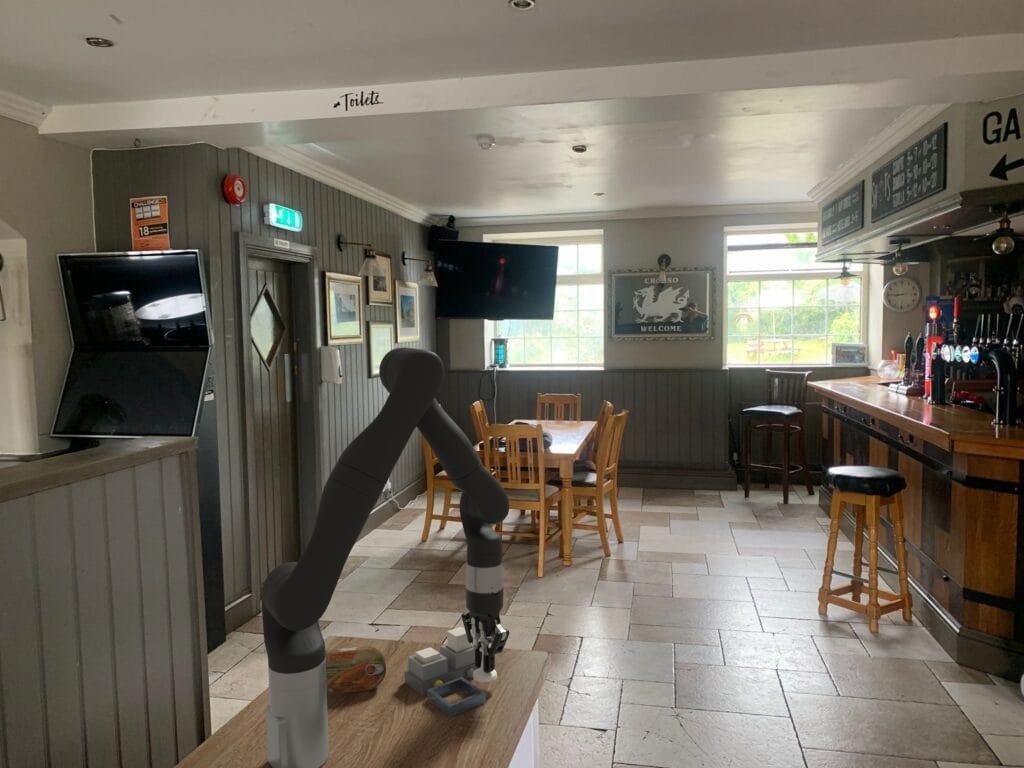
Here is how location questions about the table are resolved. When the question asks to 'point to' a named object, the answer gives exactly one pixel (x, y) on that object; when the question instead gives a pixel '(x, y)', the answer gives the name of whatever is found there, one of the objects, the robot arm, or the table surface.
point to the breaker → (457, 639)
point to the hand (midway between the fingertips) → (484, 668)
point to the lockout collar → (459, 706)
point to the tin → (354, 669)
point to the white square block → (427, 655)
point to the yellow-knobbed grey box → (440, 669)
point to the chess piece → (480, 674)
